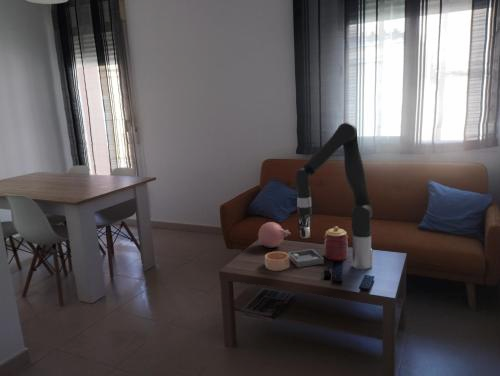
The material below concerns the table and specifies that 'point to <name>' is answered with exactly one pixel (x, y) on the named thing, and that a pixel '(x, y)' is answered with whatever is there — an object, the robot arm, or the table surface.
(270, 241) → the balloon
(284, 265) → the terracotta bowl
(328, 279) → the black bracket
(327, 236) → the canister
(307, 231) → the pale stone
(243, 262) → the table surface
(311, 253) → the parts tray
